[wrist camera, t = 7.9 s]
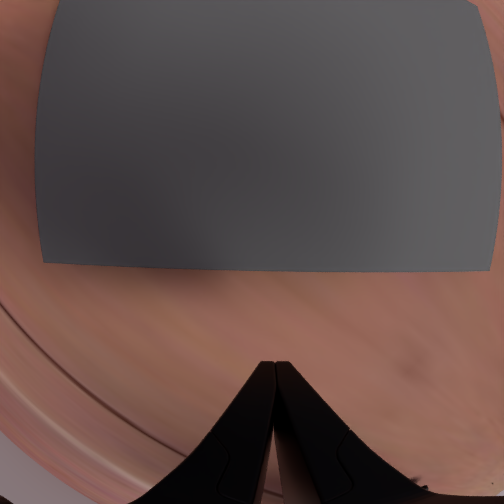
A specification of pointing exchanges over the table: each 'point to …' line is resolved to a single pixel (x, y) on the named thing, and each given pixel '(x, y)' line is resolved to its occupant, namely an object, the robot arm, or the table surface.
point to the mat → (269, 136)
